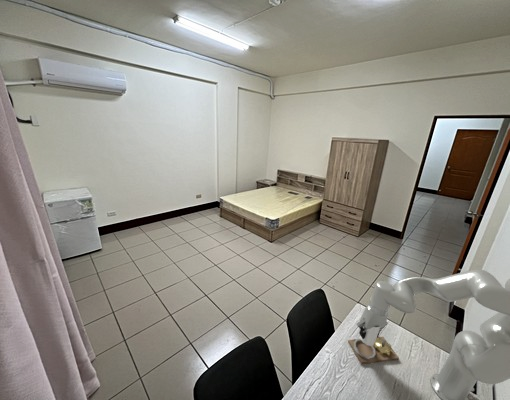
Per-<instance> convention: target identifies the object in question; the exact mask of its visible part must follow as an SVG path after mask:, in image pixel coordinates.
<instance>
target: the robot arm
mask: <svg viewBox="0 0 510 400" xmlns="http://www.w3.org/2000/svg"><path fill="white" fill-rule="evenodd" d="M421 293H430V294H434V295H435V296H438V297H439V298H441V299H442V300H445V302H448V303H449V302H450V303H451V302H458V301H461V300H467V299H474V300H475V301H476V302H477V303H478V304H480V305H481V306H482V307H484V308H487V309H490V310H492V311H495V312H497V313H495V314H494V315H493V316H491V317H490V318H488V319H486V320H485V321H483V323H481V324H480V327H479V331H480V333H481V335H480V334H479V333H477V332H475V331H472V330H462V331H460V332H458V333H456V335H455V337H454V340H453V344H452V348H451V350H450V352H449V355H448V356H447V358H446V360H445V362H444V364H443V366H442V367H441V369H440V372H439V373H435V374H433V375H431V377H430V385H431V388H432V389H433V391H434V392H435V394H436V395H437V396H438V397H439V398H440V399H441V400H469V398H468V395H469V394H470V392H475V388H474V386H475V384H476V383H477V382H480V383H483V384H486V385H496V384H497V385H498V384H500V383H503V382H505V381H508V380H510V278H509V279H507V280H506V281H505V284H504V286H503V285H502V284H501V282H500V281H499V280H498V279H497V278H496V277H495V276H494V275H493V274H491V273H490V271H489V272H488V271H486V270H485V269H471V270H466V271H463V272H458V273H455V274H451V275H447V276H443V277H438V278H430V277H421V276H417V277H415V276H414V277H409V278H405V279H402V280H399V281H397V282H395V283H394V284H393V285H392V284H390V282H387V281H384V280H379V281H377V282H376V283H375V285H374V288H373V291H372V294H371V297H370V300H369V303H368V305H366V306H365V308H364V310H363V312H362V314H361V316H360V319H359V321H358V322H357V323H356V326H357V327H358V328H359V332H358V334H359V337H360V336H361V337H362V338H363V339H364V338H365V336H366V331H367V330H368V329H371V328H372V327H373V326H374V327H378V326H379V327H380V330H379V333H378V335H377V338H378V337H380V336H379V335H380V333H381V332H382V330H383V329H385V327H386V326H387V325H389V323H388V321H387V320H388V314H389V310H390V307H393V308H395V309H397V310H398V311H400V312H402V313H404V314H414V313H415V312H416V310H417V302H416V299H415V295H417V294H421ZM364 326H365V329H364V328H363V327H364Z"/></svg>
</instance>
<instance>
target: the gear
mask: <svg viewBox="0 0 510 400" xmlns="http://www.w3.org/2000/svg"><path fill="white" fill-rule="evenodd" d="M385 340H386V339H383V338H382V339H379V338H376V341H375V343H374V349H375V350H378V351H379V352H380V353H379V354H381V355H382V354H384V355H386V356H387V357H389V356H390V353H391V354H392V353H393V350H394V349H393V348H392V345H391V343H389V342H388V341H387V340H386V341H387V342H388V343H387V342H386V341H385ZM391 348H392V349H393V350H392V349H391Z"/></svg>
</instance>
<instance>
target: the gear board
mask: <svg viewBox="0 0 510 400" xmlns="http://www.w3.org/2000/svg"><path fill="white" fill-rule="evenodd" d="M378 338H379V339H382V338H383V339H385V337H384V336H378ZM356 339H357V338H356ZM356 339H355V338H354V339H348V345H349V347H350V348H351V350H352V352H353V353H354V355H355V357H356V359H357V360H358V362H359V364H360V365H367V364H369V365H370V364H376V363H383V362H384V363H385V362H391V361H399V359H400V357H399V356H398V355H397V353H396V352H395V351H394V349H393V347H391V349H392V350H393V353H392V354H391V353H390V356H389V357H387V356H386V355H384V354H382V355H381V354H379V353H380V352H379V351H378V350H375V353H376V355H375V357H374V358H373V359H371V360H367V359H364V358H362V357H361V356H359V355H358V354H357V353H356V351H355V349H354V344H353V343H354V341H355V340H356ZM385 341H386V342H387V343H388V344H389V342H388V341H387V340H386V339H385ZM356 347H357V349H358V351H359V352H360V353H362V354H363V355H365V356H372V355H373V351H372V349H371V348H370V346H368V345H366V344H364V343H363V342H357V343H356ZM373 347H374V345H373Z"/></svg>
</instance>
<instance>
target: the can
mask: <svg viewBox="0 0 510 400" xmlns="http://www.w3.org/2000/svg"><path fill="white" fill-rule="evenodd" d="M363 328H364V329H365V326H364V327H363ZM379 330H380V327H379V326H378V327H374V326H373V327H372V328H371V329H368V330H367V331H366V336H365V338H364V339H363V338H362V337H361V336H360V335H359V339H361V341H362V342H363V343H364V344H366V345H368V346H373V345H374V343H375V341H376V338H377V335H378V333H379ZM379 334H380V333H379Z"/></svg>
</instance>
